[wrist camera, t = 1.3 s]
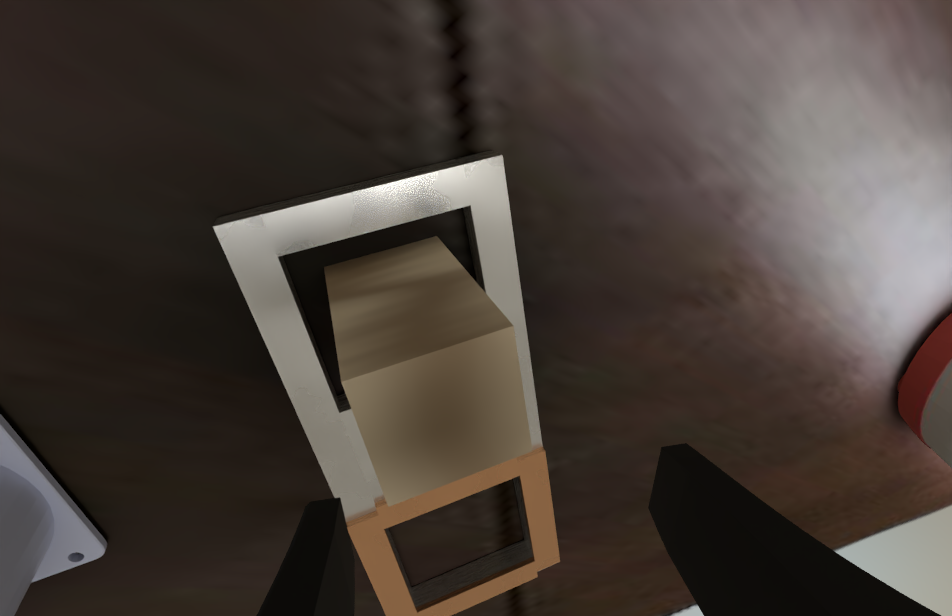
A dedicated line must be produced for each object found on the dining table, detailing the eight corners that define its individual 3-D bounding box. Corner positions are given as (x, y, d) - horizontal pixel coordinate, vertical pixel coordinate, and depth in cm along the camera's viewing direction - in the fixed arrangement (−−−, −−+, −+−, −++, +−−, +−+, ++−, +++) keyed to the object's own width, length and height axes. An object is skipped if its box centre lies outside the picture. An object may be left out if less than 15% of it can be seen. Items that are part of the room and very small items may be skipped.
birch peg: (357, 363, 21) (388, 507, 14) (323, 267, 19) (340, 382, 12) (457, 330, 22) (532, 451, 15) (436, 236, 20) (513, 325, 13)
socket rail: (392, 613, 28) (397, 639, 27) (217, 217, 17) (211, 229, 15) (549, 545, 30) (560, 566, 29) (490, 150, 19) (505, 156, 17)
